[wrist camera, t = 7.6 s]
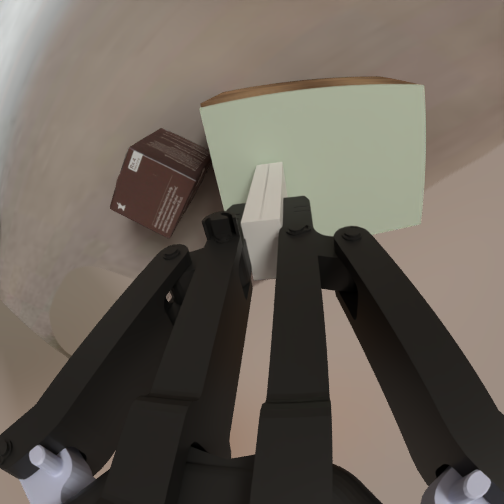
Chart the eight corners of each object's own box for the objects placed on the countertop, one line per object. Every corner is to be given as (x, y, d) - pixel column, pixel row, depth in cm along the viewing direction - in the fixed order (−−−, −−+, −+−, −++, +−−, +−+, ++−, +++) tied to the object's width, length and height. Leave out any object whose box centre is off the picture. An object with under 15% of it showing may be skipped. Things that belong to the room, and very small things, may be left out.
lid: (236, 257, 20) (237, 263, 20) (200, 107, 15) (199, 108, 14) (416, 220, 20) (420, 224, 20) (418, 84, 15) (424, 85, 14)
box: (191, 202, 31) (169, 241, 25) (140, 176, 29) (107, 209, 23) (217, 152, 27) (197, 181, 21) (161, 125, 26) (127, 146, 20)
